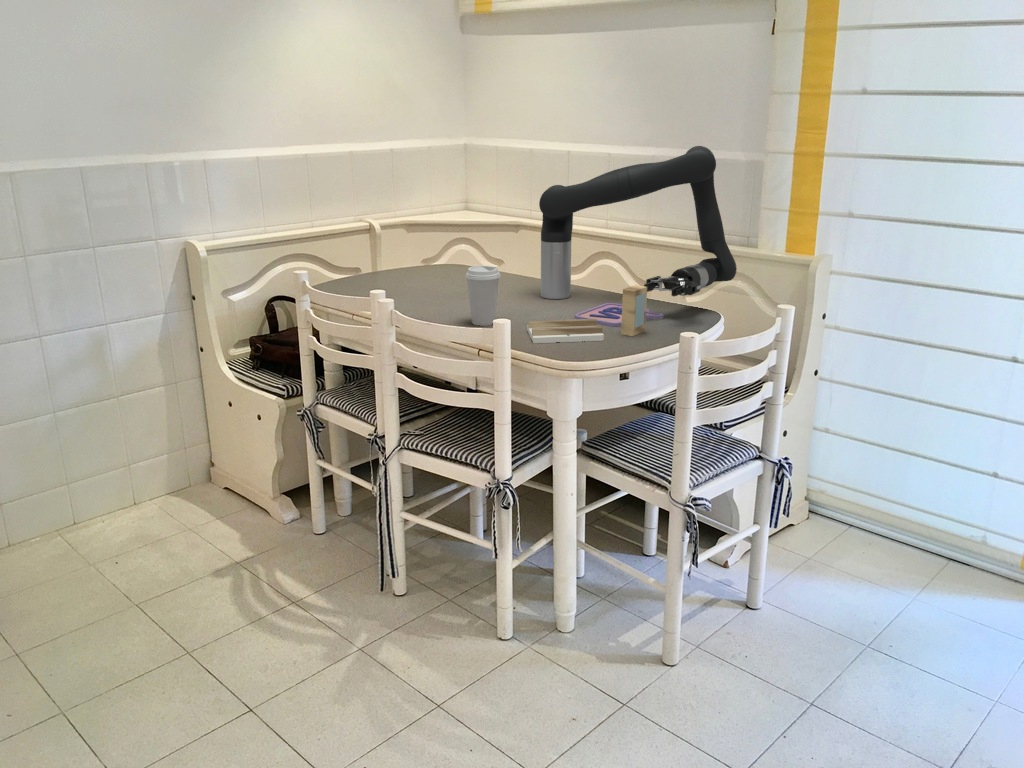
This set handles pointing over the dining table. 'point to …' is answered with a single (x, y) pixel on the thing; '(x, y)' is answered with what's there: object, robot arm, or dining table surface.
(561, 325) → the ledge
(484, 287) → the coffee cup
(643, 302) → the wooden block
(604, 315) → the icon
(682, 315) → the dining table surface
